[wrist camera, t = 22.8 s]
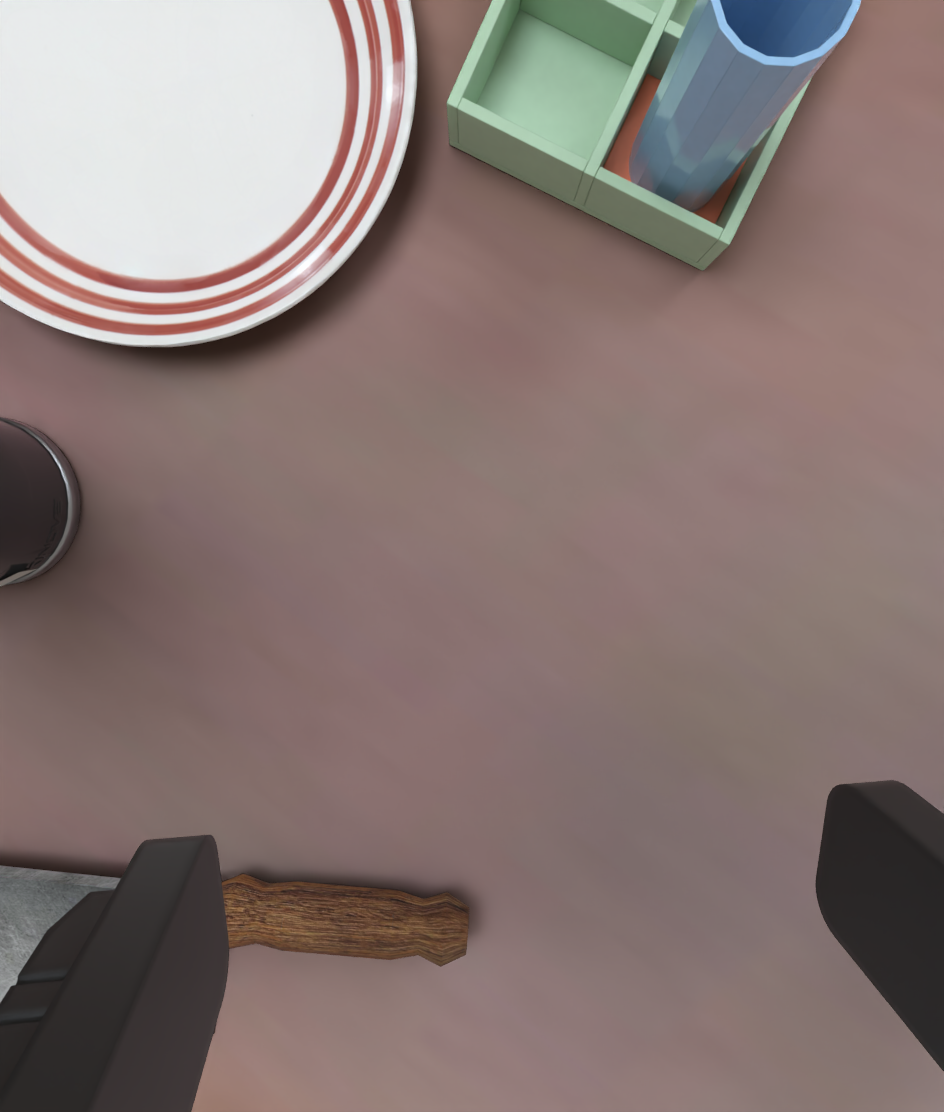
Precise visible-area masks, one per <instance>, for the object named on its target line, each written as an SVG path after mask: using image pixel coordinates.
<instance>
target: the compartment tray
mask: <svg viewBox="0 0 944 1112" xmlns="http://www.w3.org/2000/svg"><path fill="white" fill-rule="evenodd" d="M696 2H697V0H492V2H491V4H490V6H489V9H488V11H487V13H486V15H485V18H484V20H483V22H482V24H481V27H480V29H479V31H478V33H477V35H476V38H475V40H474V42H473V44H472V47H471V49H470V51H469V53H468V56H467V58H466V60H465V62H464V65H463V67H462V69H461V71H460V74H459V76H458V78H457V80H456V83H455V85H454V87H453V89H452V92H451V94H450V96H449V98H448V101H447V116H448V130H449V144H450V145H452V146H454V147H456V148H458V149H460V150H462V151H464V152H466V153H468V154H470V155H472V156H474V157H476V158H478V159H480V160H482V161H484V162H486V163H488V164H490V165H492V166H494V167H496V168H498V169H500V170H502V171H504V172H506V173H508V174H510V175H512V176H514V177H516V178H518V179H520V180H522V181H524V182H526V183H528V184H530V185H532V186H534V187H536V188H538V189H540V190H542V191H544V192H546V193H548V194H550V195H552V196H554V197H556V198H558V199H560V200H562V201H564V202H566V203H568V204H570V205H572V206H574V207H576V208H578V209H580V210H582V211H584V212H586V213H588V214H590V215H592V216H594V217H596V218H598V219H600V220H602V221H604V222H606V223H608V224H610V225H612V226H614V227H616V228H618V229H620V230H622V231H624V232H626V233H628V234H630V235H632V236H634V237H636V238H638V239H640V240H642V241H644V242H646V243H648V244H650V245H652V246H654V247H656V248H658V249H660V250H662V251H664V252H666V253H668V254H670V255H672V256H674V257H676V258H678V259H680V260H682V261H684V262H686V263H688V264H690V265H692V266H694V267H696V268H698V269H700V270H702V271H703V270H704V269H705V268H706V267H708V266H709V265H710V264H711V263H712V262H713V261H714V260H715V259H716V258H717V257H718V256H719V255H720V254H721V253H722V252H723V251H724V250H725V249H726V248H727V247H728V246H729V245H730V243H731V241H732V239H733V237H734V235H735V233H736V231H737V229H738V227H739V225H740V223H741V221H742V219H743V217H744V215H745V213H746V211H747V208H748V206H749V204H750V202H751V200H752V198H753V196H754V194H755V192H756V190H757V188H758V186H759V184H760V182H761V180H762V178H763V176H764V174H765V172H766V170H767V168H768V166H769V164H770V162H771V160H772V158H773V156H774V154H775V152H776V150H777V148H778V146H779V144H780V142H781V140H782V138H783V136H784V133H785V131H786V129H787V127H788V125H789V123H790V121H791V119H792V117H793V115H794V113H795V111H796V109H797V107H798V105H799V103H800V101H801V99H802V97H803V95H804V93H805V91H806V89H807V87H808V85H809V83H810V81H811V79H812V77H813V76H812V77H811V79H810V80H809V81H808V82H807V84H806V85H805V86H804V87H803V89H802V90H801V91H800V92H799V94H798V95H797V96H796V97H795V99H794V100H793V101H792V102H791V103H790V105H789V106H788V107H787V108H786V110H785V111H784V112H783V113H782V115H781V116H780V117H779V118H778V120H777V121H776V122H775V123H774V125H773V126H772V127H771V128H770V130H769V131H768V132H767V133H766V135H765V136H764V137H763V138H762V140H761V141H760V142H759V143H758V145H757V146H756V147H755V148H754V150H753V151H752V152H751V153H750V155H749V156H748V157H747V158H746V160H745V161H744V162H743V163H742V165H741V166H740V167H739V168H738V170H737V171H736V172H735V173H734V175H733V176H732V177H731V178H730V179H729V181H728V182H727V183H726V184H725V186H724V187H723V188H722V189H721V191H720V192H718V193H717V194H716V196H715V197H714V198H713V199H712V200H711V201H710V202H709V203H708V204H706V205H705V206H704V207H702V208H701V209H699V210H697V211H695V212H690V211H688V210H686V209H684V208H682V207H680V206H678V205H676V204H674V203H672V202H670V201H668V200H666V199H664V198H662V197H660V196H658V195H656V194H654V193H652V192H650V191H648V190H646V189H644V188H642V187H640V186H638V185H636V184H634V183H632V182H631V179H630V175H629V156H630V151H631V148H632V144H633V142H634V140H635V138H636V135H637V133H638V131H639V129H640V127H641V124H642V122H643V120H644V118H645V115H646V113H647V111H648V109H649V106H650V104H651V102H652V100H653V98H654V95H655V93H656V91H657V89H658V86H659V84H660V82H661V80H662V77H663V75H664V73H665V71H666V69H667V66H668V64H669V62H670V60H671V57H672V55H673V53H674V51H675V49H676V46H677V44H678V42H679V40H680V37H681V35H682V33H683V31H684V28H685V26H686V24H687V22H688V20H689V17H690V15H691V13H692V11H693V8H694V6H695V4H696Z"/></svg>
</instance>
